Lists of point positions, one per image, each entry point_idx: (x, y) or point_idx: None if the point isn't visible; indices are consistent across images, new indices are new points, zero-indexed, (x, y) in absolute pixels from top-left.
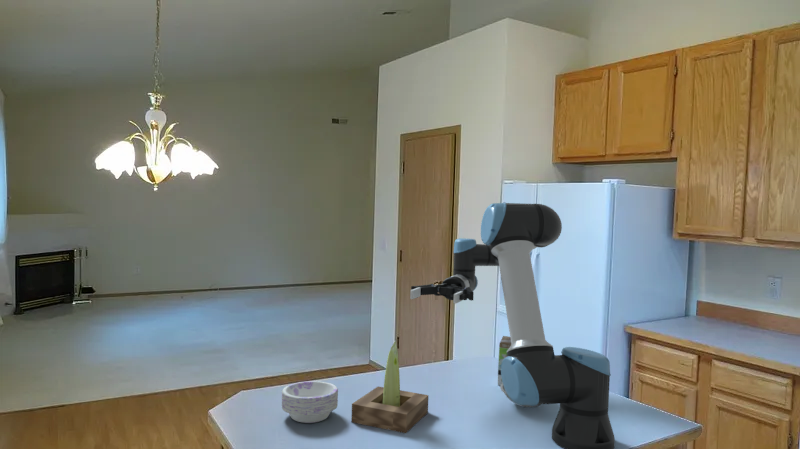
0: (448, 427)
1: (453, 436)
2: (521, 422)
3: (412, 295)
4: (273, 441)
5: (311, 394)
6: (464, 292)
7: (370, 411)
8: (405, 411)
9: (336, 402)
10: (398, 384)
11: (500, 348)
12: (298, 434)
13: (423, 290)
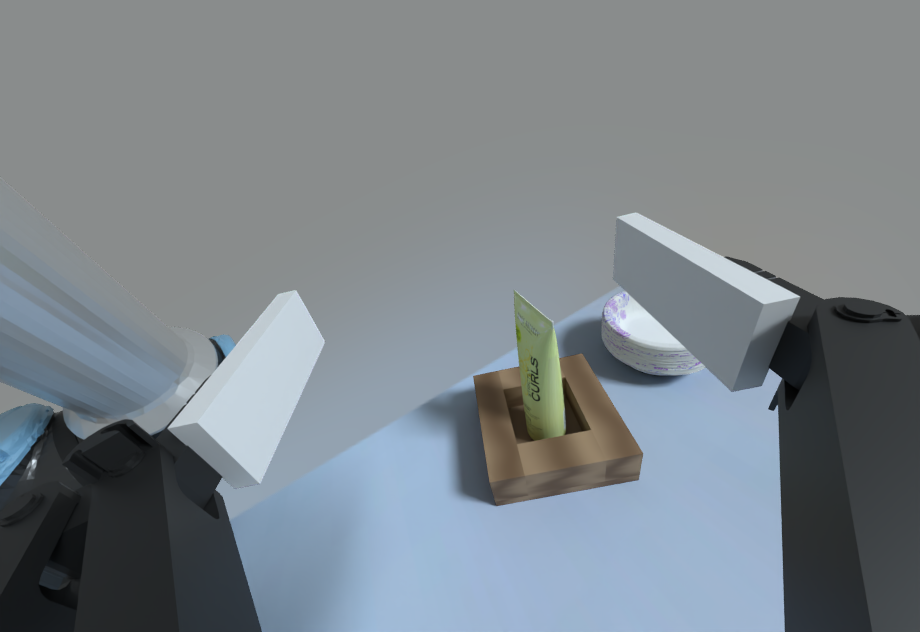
0: (424, 461)
1: (405, 435)
2: (263, 603)
3: (615, 254)
4: (600, 299)
5: None
6: (153, 442)
7: None
8: (481, 383)
9: (613, 347)
10: (521, 384)
11: None
12: (598, 320)
13: (802, 401)
